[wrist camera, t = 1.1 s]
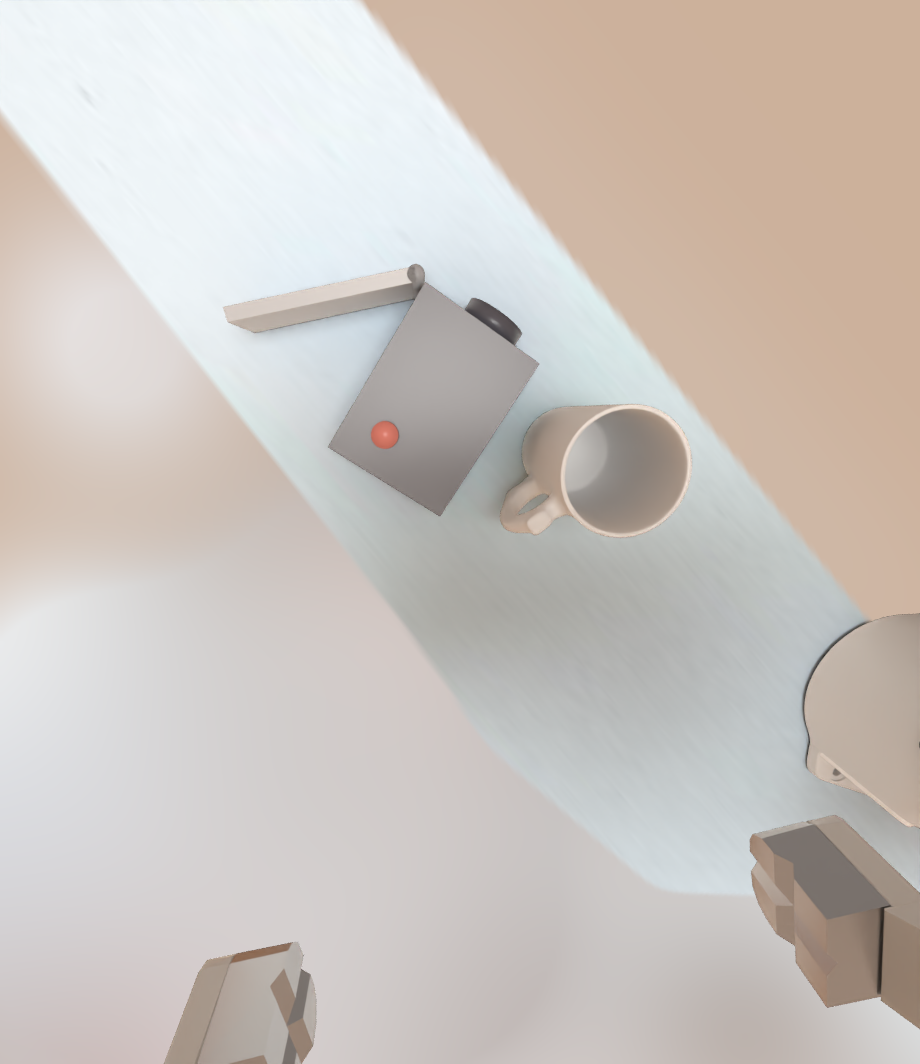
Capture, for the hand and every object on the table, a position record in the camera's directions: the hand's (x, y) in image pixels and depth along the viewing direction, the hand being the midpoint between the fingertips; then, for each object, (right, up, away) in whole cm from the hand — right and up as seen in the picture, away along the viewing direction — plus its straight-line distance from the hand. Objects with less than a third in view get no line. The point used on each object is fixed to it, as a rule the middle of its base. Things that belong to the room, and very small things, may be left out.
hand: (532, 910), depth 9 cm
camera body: (-3, +16, +27) cm, 31 cm away
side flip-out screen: (-9, +21, +25) cm, 34 cm away
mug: (+5, +12, +29) cm, 31 cm away
